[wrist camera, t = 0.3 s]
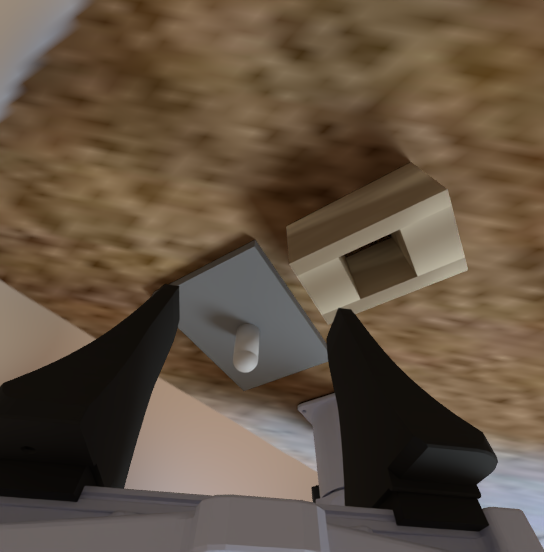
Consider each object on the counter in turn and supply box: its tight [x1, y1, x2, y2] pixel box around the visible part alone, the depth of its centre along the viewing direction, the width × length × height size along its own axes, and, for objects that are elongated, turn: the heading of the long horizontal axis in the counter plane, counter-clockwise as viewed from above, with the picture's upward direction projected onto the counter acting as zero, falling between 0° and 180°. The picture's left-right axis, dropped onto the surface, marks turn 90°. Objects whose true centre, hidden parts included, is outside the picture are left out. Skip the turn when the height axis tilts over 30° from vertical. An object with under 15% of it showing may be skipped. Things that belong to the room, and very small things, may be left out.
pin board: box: [151, 240, 328, 391], centre depth 26 cm, size 14×10×5 cm
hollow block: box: [286, 162, 468, 324], centre depth 20 cm, size 6×9×5 cm, turn 120°
